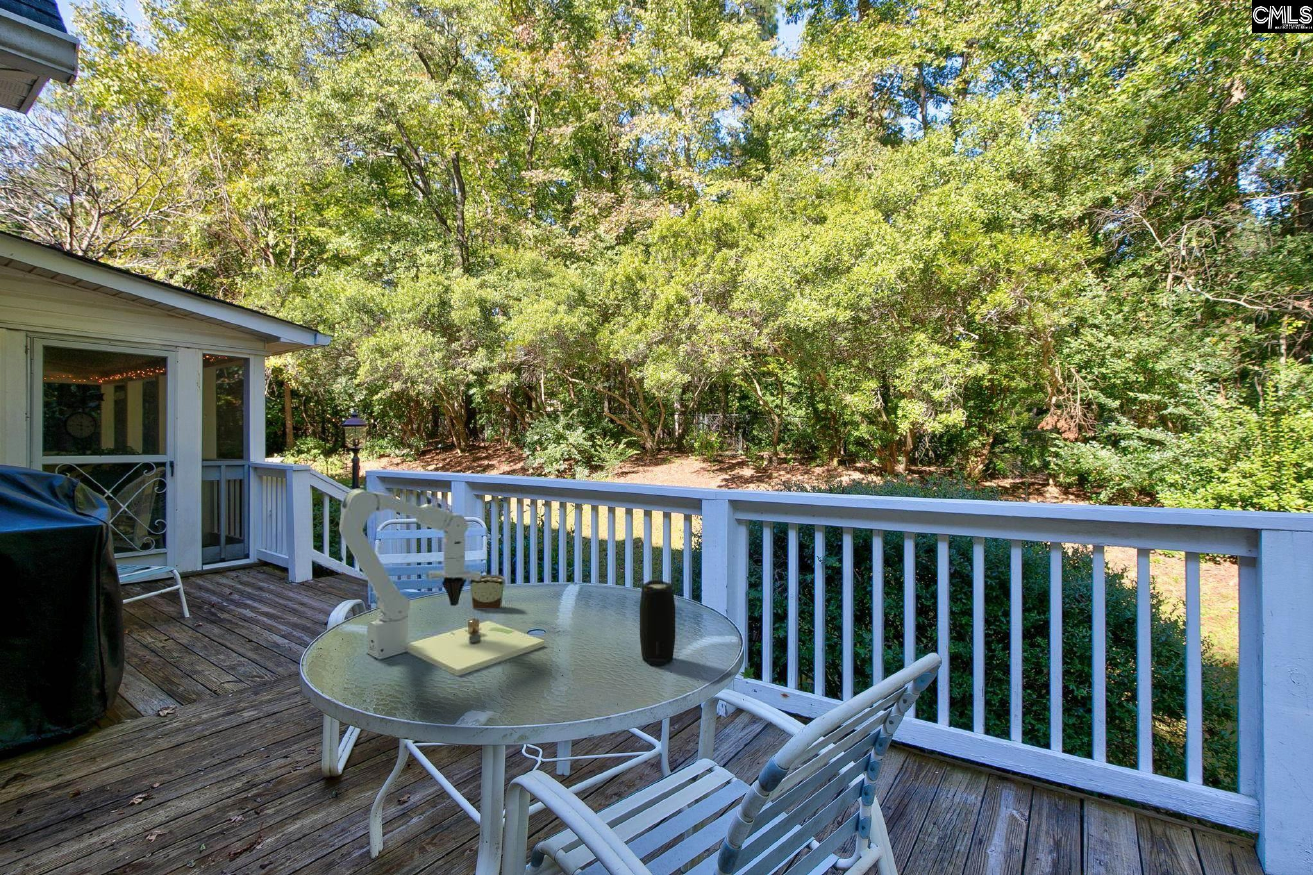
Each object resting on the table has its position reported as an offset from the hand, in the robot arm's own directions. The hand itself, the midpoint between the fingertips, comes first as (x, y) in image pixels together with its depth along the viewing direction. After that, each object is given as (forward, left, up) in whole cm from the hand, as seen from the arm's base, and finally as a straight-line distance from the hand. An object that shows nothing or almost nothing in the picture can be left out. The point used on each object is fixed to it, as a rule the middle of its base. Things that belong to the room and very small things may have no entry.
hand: (454, 604), depth 167 cm
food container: (+24, +19, -10) cm, 32 cm away
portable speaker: (+24, -54, -10) cm, 60 cm away
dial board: (-1, -11, -9) cm, 15 cm away
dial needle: (+2, -7, -8) cm, 11 cm away
